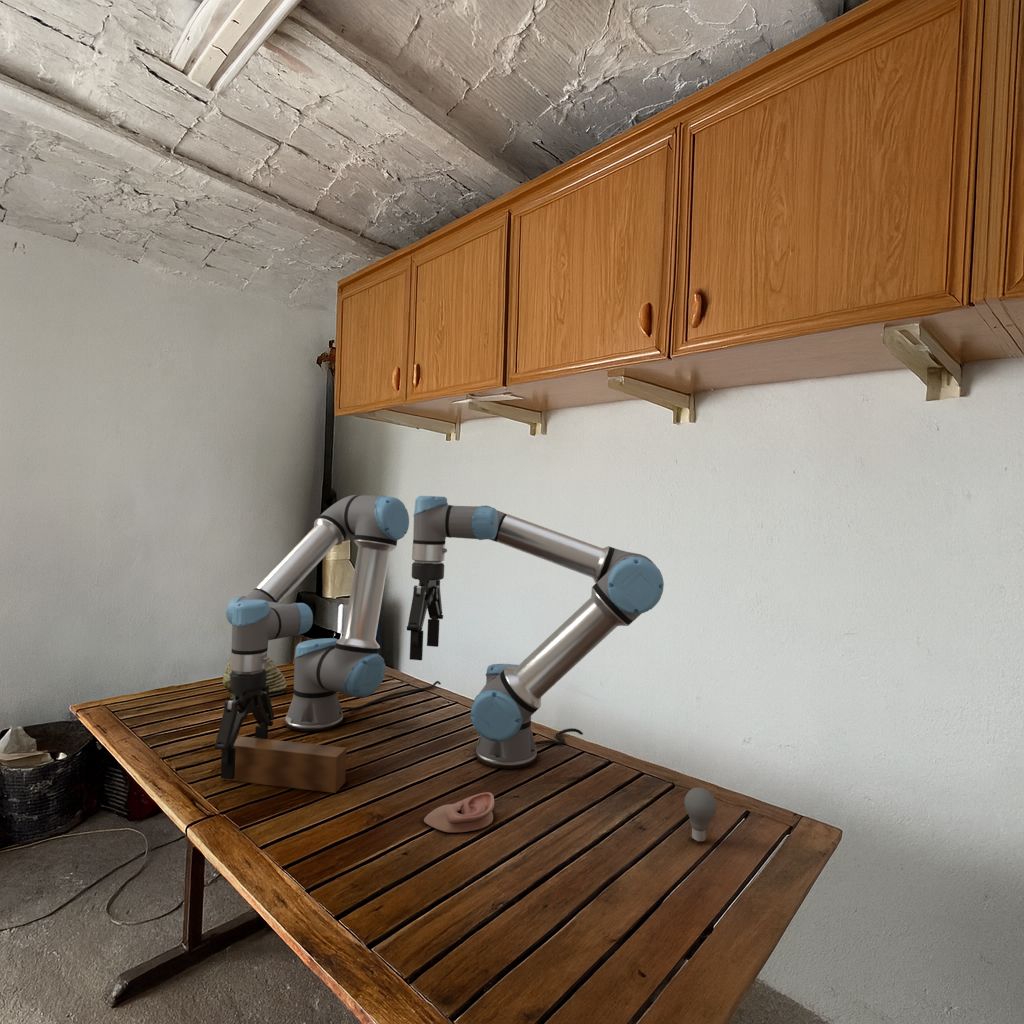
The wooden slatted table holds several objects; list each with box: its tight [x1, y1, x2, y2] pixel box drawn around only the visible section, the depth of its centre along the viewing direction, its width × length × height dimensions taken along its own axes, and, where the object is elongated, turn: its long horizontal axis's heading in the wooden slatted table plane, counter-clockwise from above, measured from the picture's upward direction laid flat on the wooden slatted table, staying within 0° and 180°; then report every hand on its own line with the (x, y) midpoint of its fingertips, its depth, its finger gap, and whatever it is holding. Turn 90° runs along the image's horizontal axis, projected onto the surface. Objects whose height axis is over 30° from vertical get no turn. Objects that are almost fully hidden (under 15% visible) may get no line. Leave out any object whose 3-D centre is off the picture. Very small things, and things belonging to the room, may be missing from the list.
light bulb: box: [683, 787, 718, 842], centre depth 123 cm, size 6×6×10 cm
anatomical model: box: [423, 791, 495, 834], centre depth 127 cm, size 13×4×12 cm
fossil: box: [222, 654, 288, 699], centre depth 198 cm, size 9×18×15 cm, turn 132°
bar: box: [224, 736, 347, 794], centre depth 140 cm, size 26×5×8 cm, turn 81°
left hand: (244, 766), depth 141 cm, fingers open, 12 cm apart
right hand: (424, 652), depth 148 cm, fingers open, 13 cm apart
